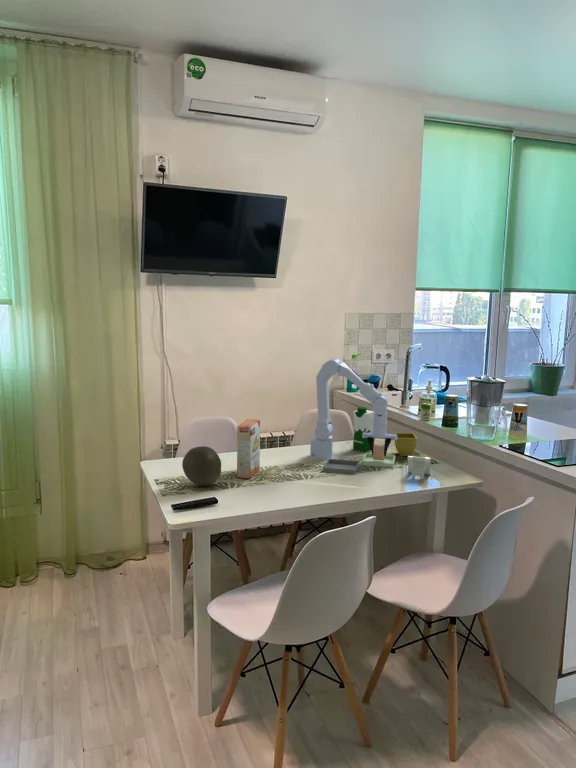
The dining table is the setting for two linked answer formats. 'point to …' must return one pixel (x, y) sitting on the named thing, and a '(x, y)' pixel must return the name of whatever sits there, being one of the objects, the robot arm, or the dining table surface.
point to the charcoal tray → (341, 466)
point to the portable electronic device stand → (418, 466)
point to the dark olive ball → (202, 466)
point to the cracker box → (248, 448)
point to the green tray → (378, 461)
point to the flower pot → (405, 443)
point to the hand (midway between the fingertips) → (379, 455)
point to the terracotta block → (378, 451)
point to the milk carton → (362, 428)
